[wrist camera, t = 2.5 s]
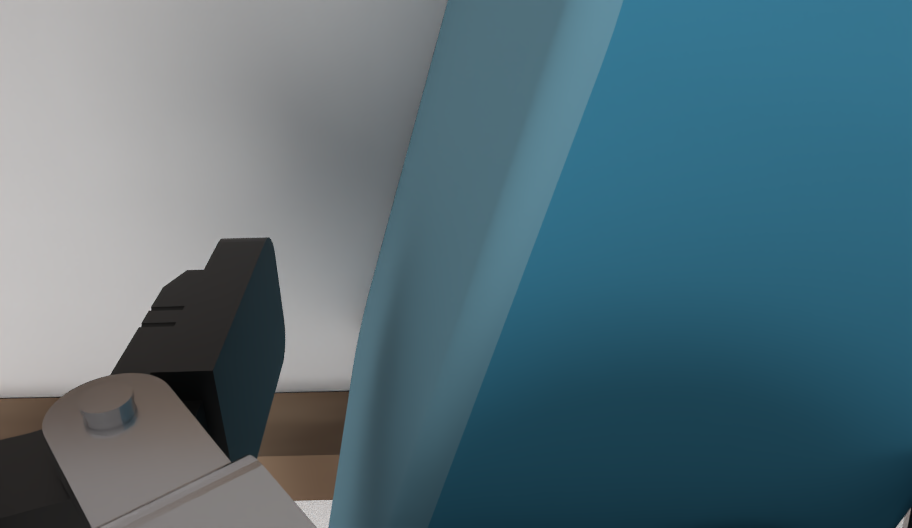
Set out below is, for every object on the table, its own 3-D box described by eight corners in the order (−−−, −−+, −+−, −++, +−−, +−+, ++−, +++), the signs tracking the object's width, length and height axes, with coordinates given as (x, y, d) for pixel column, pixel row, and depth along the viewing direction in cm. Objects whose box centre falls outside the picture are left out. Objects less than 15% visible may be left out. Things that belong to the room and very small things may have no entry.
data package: (518, 368, 20) (613, 906, 10) (357, 332, 20) (273, 872, 9) (705, -99, 15) (1346, -14, 5) (493, -171, 14) (667, -269, 4)
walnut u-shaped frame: (935, -306, 14) (1032, -338, 11) (758, 424, 22) (795, 488, 19) (-278, -310, 13) (-422, -345, 11) (3, 441, 21) (-47, 509, 19)
